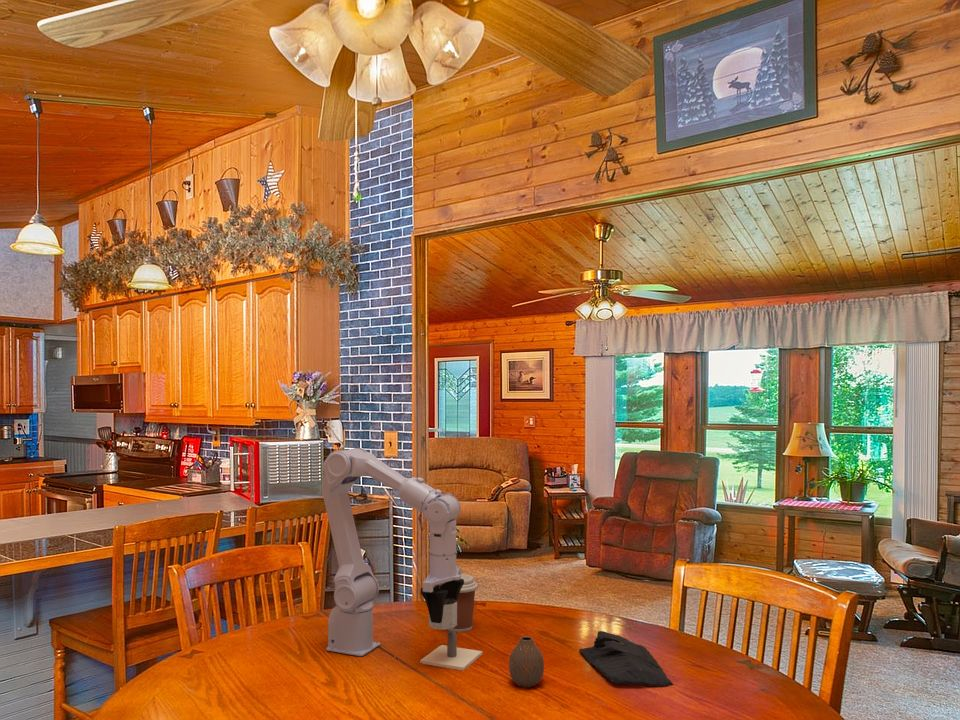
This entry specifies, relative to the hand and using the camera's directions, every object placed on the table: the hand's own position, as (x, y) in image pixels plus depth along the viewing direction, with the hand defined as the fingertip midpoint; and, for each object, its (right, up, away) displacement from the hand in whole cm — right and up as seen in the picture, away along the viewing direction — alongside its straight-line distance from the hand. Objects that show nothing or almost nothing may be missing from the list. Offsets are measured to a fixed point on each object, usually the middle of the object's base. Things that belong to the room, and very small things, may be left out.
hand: (442, 618), depth 154 cm
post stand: (+2, -9, +2) cm, 10 cm away
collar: (0, -2, 0) cm, 2 cm away
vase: (+17, -9, -11) cm, 22 cm away
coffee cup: (+3, -10, +22) cm, 25 cm away
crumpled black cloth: (+38, -10, -3) cm, 39 cm away
